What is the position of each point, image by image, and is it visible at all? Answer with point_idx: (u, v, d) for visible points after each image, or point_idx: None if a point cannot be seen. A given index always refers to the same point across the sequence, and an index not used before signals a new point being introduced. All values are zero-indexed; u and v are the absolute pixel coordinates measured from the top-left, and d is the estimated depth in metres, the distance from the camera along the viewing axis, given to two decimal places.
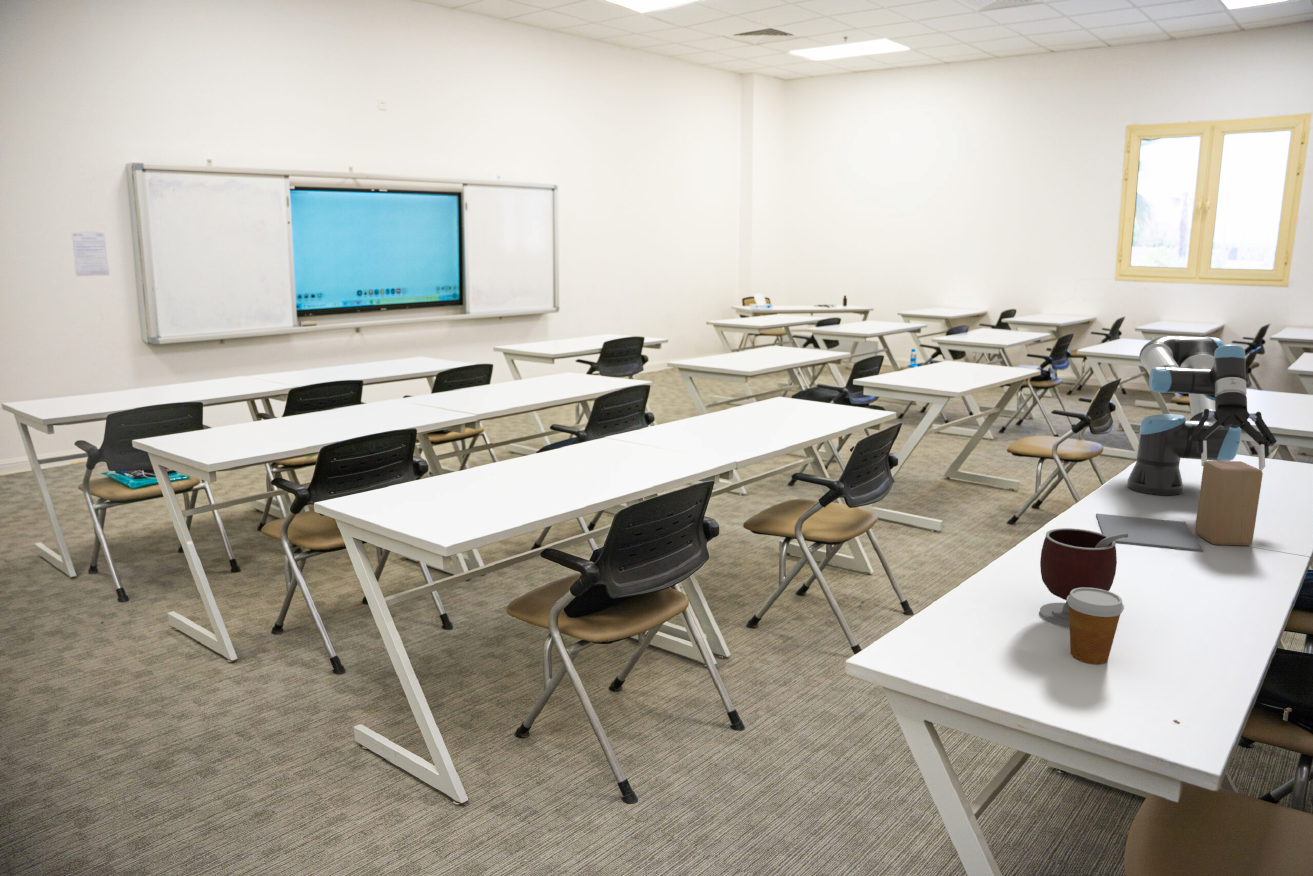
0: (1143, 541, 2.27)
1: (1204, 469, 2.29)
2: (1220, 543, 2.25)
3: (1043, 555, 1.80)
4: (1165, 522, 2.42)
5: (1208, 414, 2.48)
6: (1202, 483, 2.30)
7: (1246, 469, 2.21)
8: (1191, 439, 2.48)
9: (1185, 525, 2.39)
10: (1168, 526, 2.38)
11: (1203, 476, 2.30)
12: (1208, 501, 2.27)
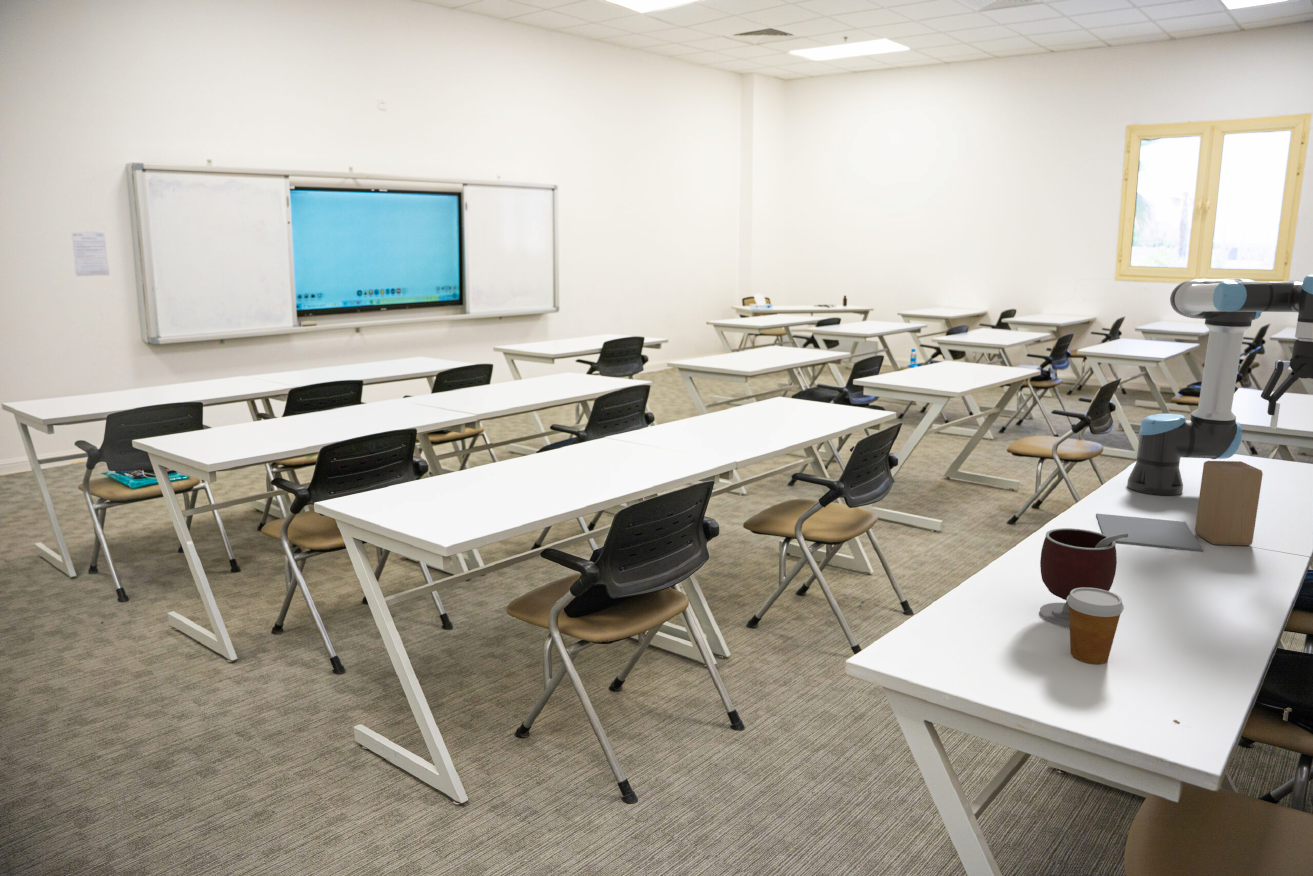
0: (1143, 541, 2.27)
1: (1204, 469, 2.29)
2: (1220, 543, 2.25)
3: (1043, 555, 1.80)
4: (1165, 522, 2.42)
5: (1283, 368, 2.16)
6: (1202, 483, 2.30)
7: (1246, 469, 2.21)
8: (1263, 398, 2.20)
9: (1185, 525, 2.39)
10: (1168, 526, 2.38)
11: (1203, 476, 2.30)
12: (1208, 501, 2.27)
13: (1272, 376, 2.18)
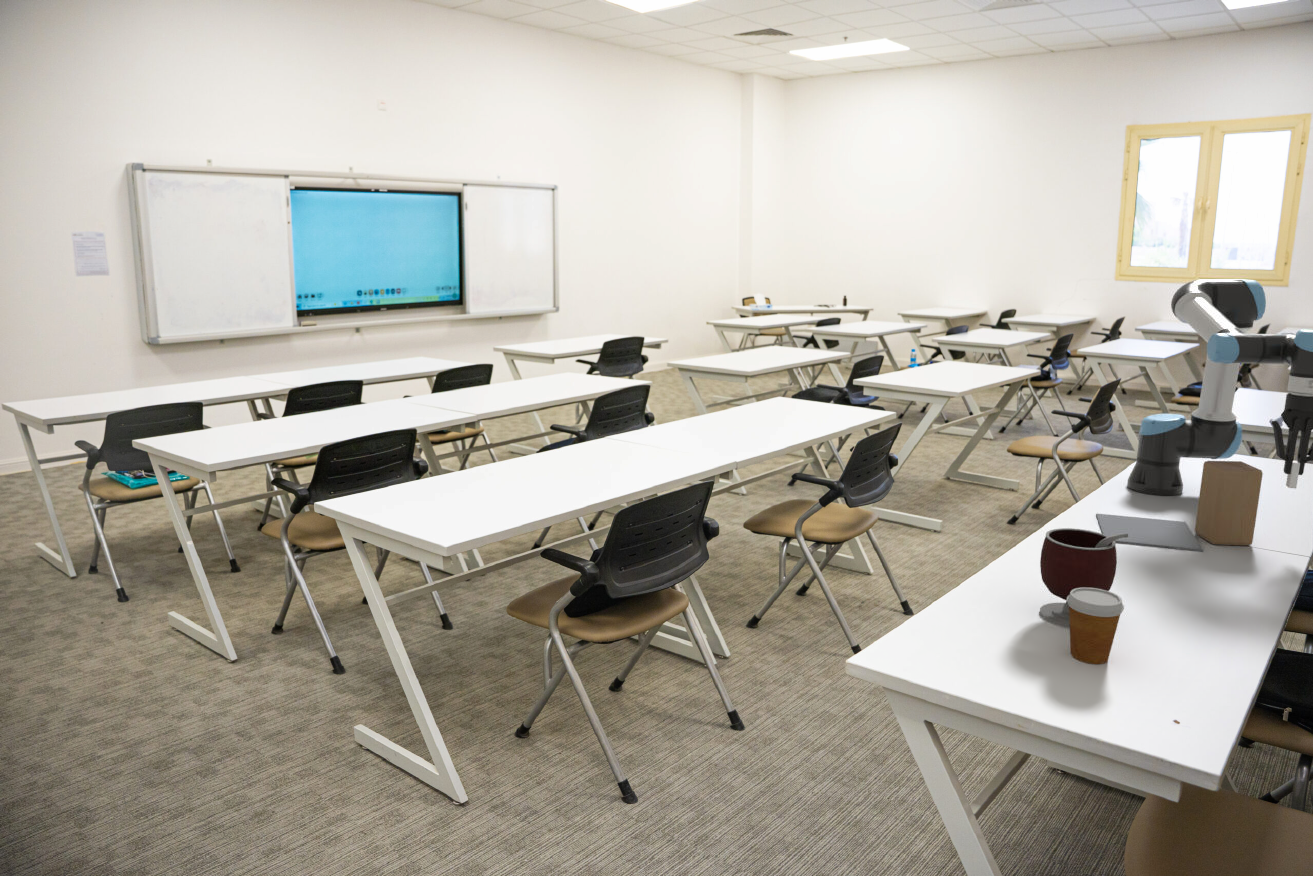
0: (1143, 541, 2.27)
1: (1204, 469, 2.29)
2: (1220, 543, 2.25)
3: (1043, 555, 1.80)
4: (1165, 522, 2.42)
5: (1279, 425, 2.19)
6: (1202, 483, 2.30)
7: (1246, 469, 2.21)
8: (1279, 457, 2.21)
9: (1185, 525, 2.39)
10: (1168, 526, 2.38)
11: (1203, 476, 2.30)
12: (1208, 501, 2.27)
13: (1275, 436, 2.20)
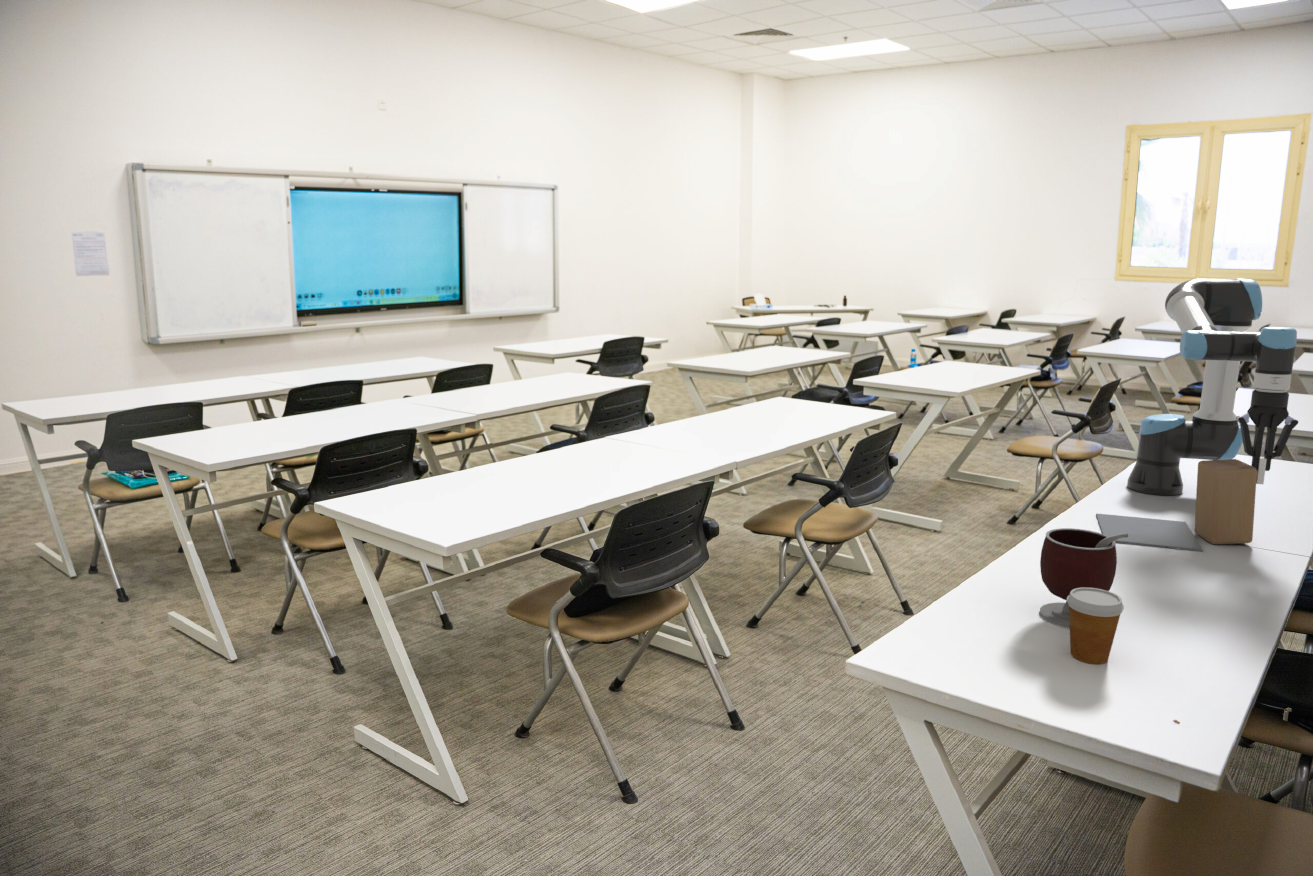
0: (1143, 541, 2.27)
1: (1199, 469, 2.29)
2: (1220, 542, 2.25)
3: (1043, 555, 1.80)
4: (1165, 522, 2.42)
5: (1246, 422, 2.21)
6: (1198, 483, 2.30)
7: (1240, 467, 2.21)
8: None
9: (1185, 525, 2.39)
10: (1168, 526, 2.38)
11: (1198, 476, 2.30)
12: (1205, 501, 2.27)
13: (1242, 432, 2.22)
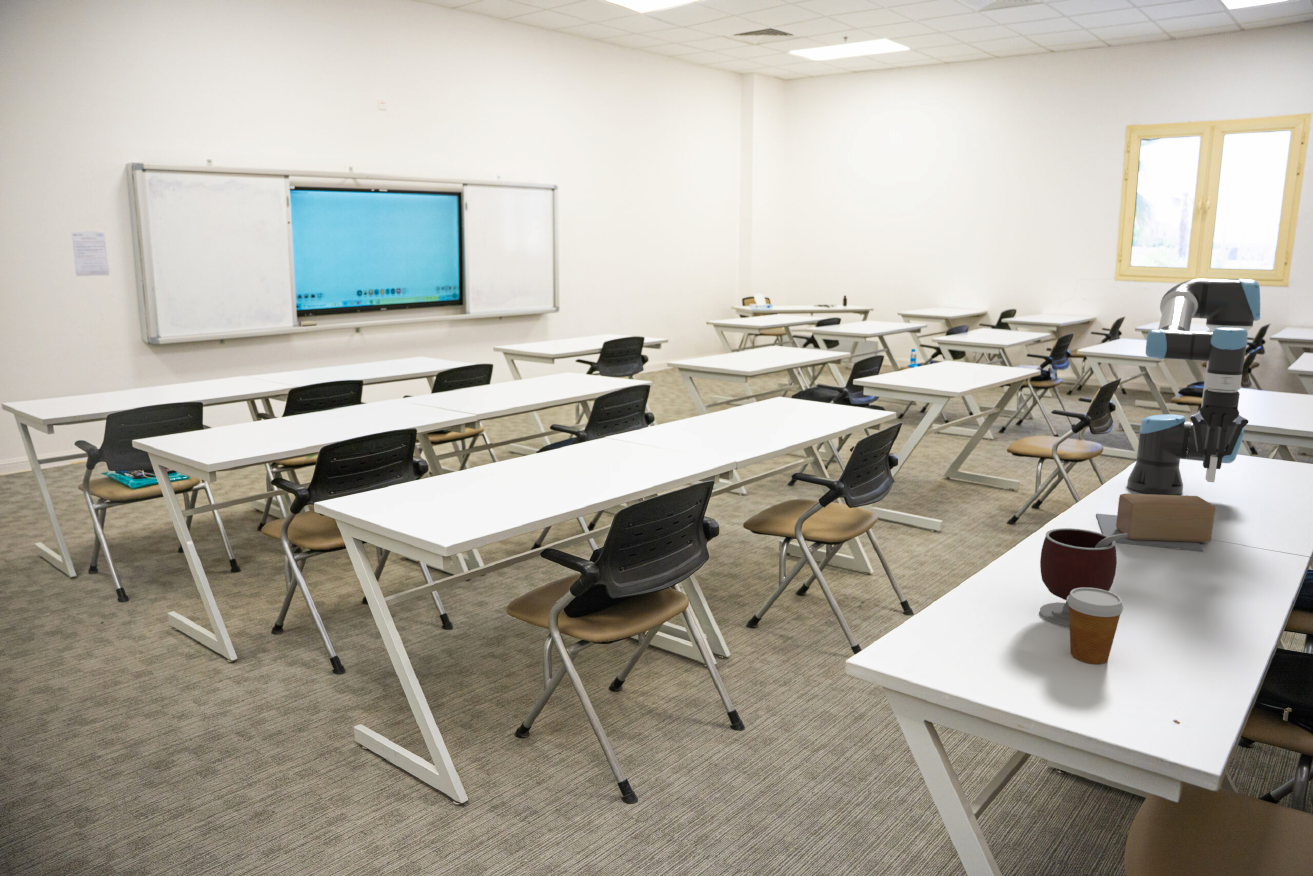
0: (1143, 541, 2.27)
1: None
2: (1210, 536, 2.24)
3: (1043, 555, 1.80)
4: None
5: (1197, 421, 2.25)
6: None
7: (1130, 516, 2.27)
8: (1198, 451, 2.27)
9: None
10: None
11: None
12: None
13: (1194, 431, 2.26)
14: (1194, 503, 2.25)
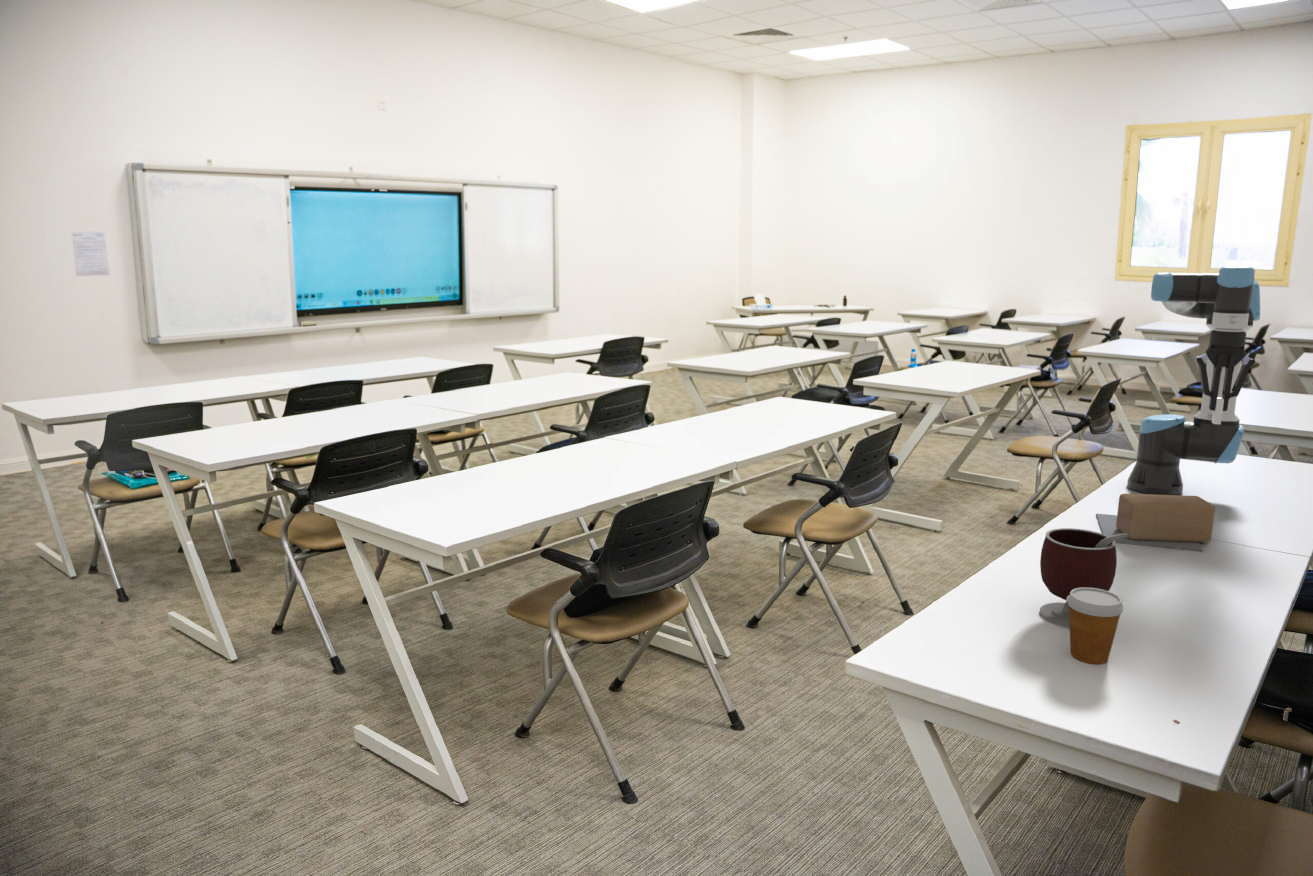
0: (1143, 541, 2.27)
1: None
2: (1210, 536, 2.24)
3: (1043, 555, 1.80)
4: None
5: (1203, 362, 2.22)
6: None
7: (1130, 516, 2.27)
8: (1204, 393, 2.24)
9: None
10: None
11: None
12: None
13: (1200, 372, 2.23)
14: (1194, 503, 2.25)
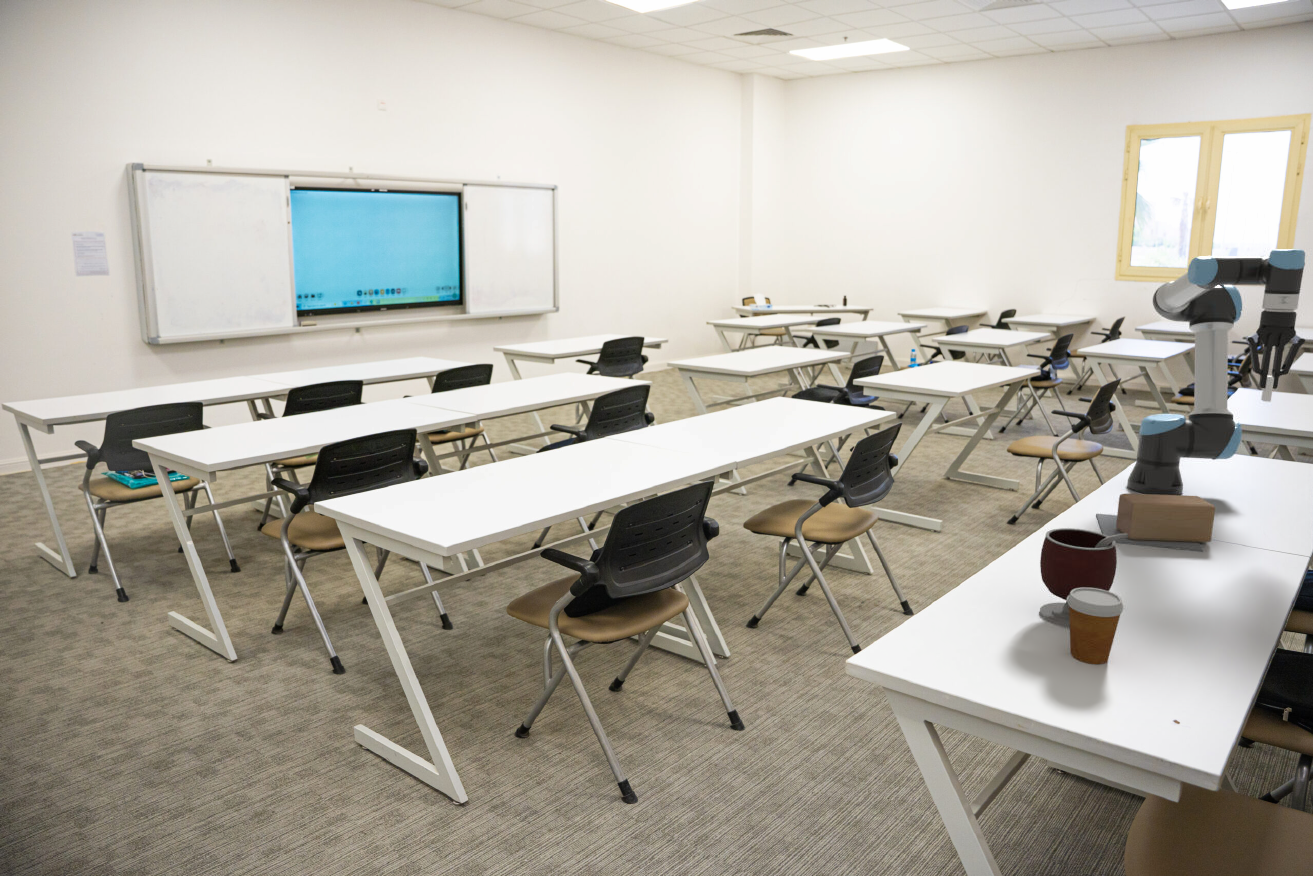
0: (1143, 541, 2.27)
1: None
2: (1210, 536, 2.24)
3: (1043, 555, 1.80)
4: None
5: (1254, 341, 2.30)
6: None
7: (1130, 516, 2.27)
8: None
9: None
10: None
11: None
12: None
13: (1251, 352, 2.32)
14: (1194, 503, 2.25)
